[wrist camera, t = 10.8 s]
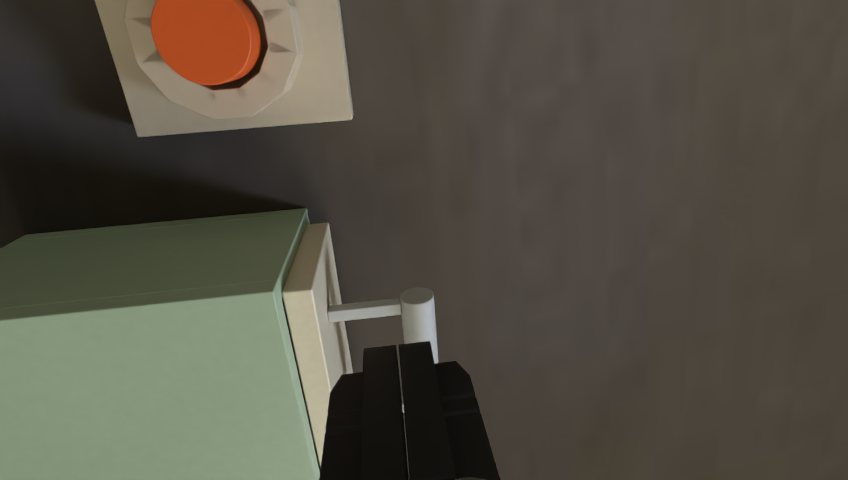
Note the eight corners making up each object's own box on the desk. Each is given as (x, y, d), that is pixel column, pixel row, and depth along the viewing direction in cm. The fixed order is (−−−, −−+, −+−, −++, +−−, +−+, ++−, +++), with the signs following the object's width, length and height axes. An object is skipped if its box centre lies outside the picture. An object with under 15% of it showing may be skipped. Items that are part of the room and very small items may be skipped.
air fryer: (306, 207, 25) (272, 291, 17) (339, 389, 30) (325, 523, 22) (25, 234, 24) (-164, 337, 16) (107, 417, 29) (-1, 569, 21)
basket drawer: (420, 213, 25) (438, 275, 18) (432, 380, 30) (450, 479, 23) (65, 247, 24) (-57, 328, 17) (136, 416, 28) (62, 533, 22)
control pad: (330, -70, 20) (322, -91, 17) (353, 114, 23) (350, 125, 20) (97, -57, 20) (43, -77, 16) (153, 131, 23) (117, 145, 20)
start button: (251, -17, 18) (239, -23, 16) (269, 78, 20) (260, 81, 18) (157, -12, 18) (136, -17, 16) (183, 85, 19) (166, 88, 18)
